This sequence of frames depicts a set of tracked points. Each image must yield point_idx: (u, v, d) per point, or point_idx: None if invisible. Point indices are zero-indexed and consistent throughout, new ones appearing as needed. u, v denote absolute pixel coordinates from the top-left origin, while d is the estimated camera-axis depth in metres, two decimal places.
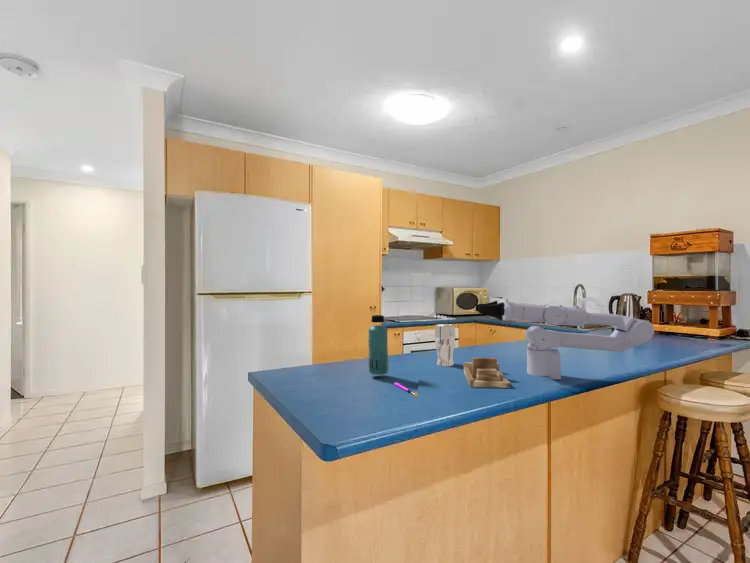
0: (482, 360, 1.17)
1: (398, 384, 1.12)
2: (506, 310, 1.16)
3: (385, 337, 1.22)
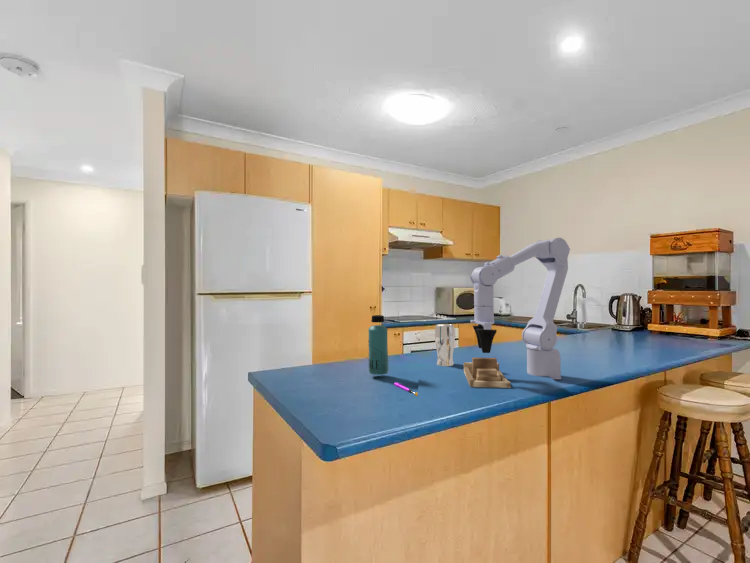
0: (482, 360, 1.17)
1: (398, 384, 1.12)
2: (485, 328, 1.10)
3: (385, 337, 1.22)
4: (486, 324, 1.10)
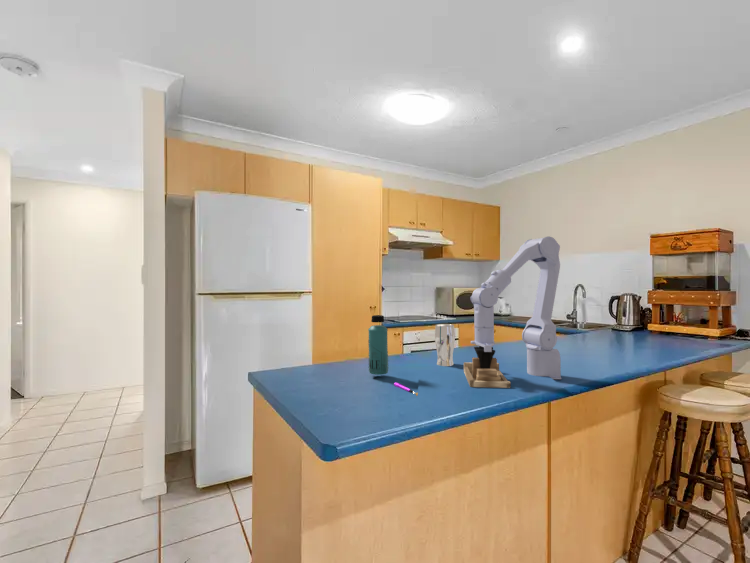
0: None
1: (398, 384, 1.12)
2: (485, 350, 1.10)
3: (385, 337, 1.22)
4: (486, 346, 1.10)
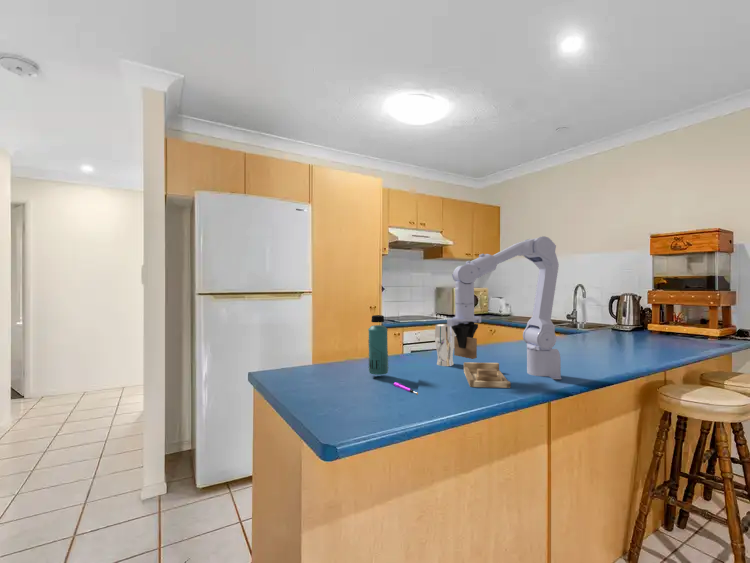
0: None
1: (398, 384, 1.12)
2: (448, 324, 1.15)
3: (385, 337, 1.22)
4: (448, 320, 1.15)
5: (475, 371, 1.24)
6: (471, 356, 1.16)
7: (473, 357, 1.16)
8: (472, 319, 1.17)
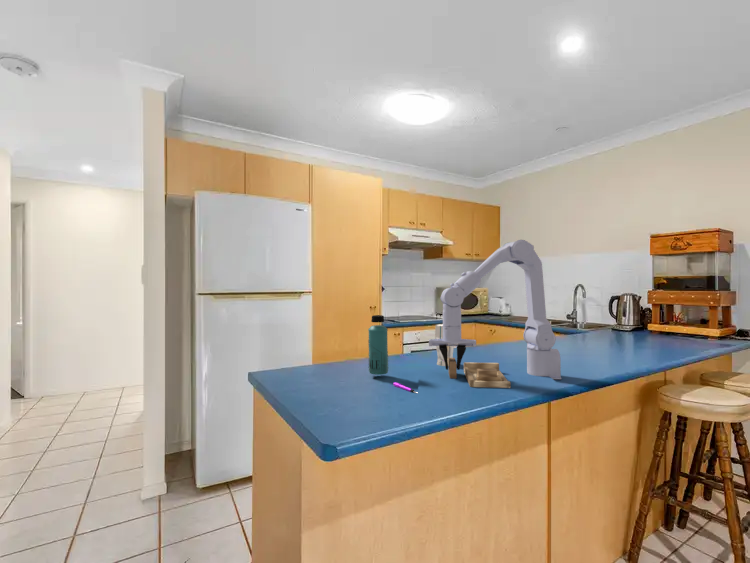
0: (448, 360, 1.22)
1: (398, 384, 1.12)
2: None
3: (385, 337, 1.22)
4: None
5: (475, 371, 1.24)
6: None
7: None
8: (452, 342, 1.18)
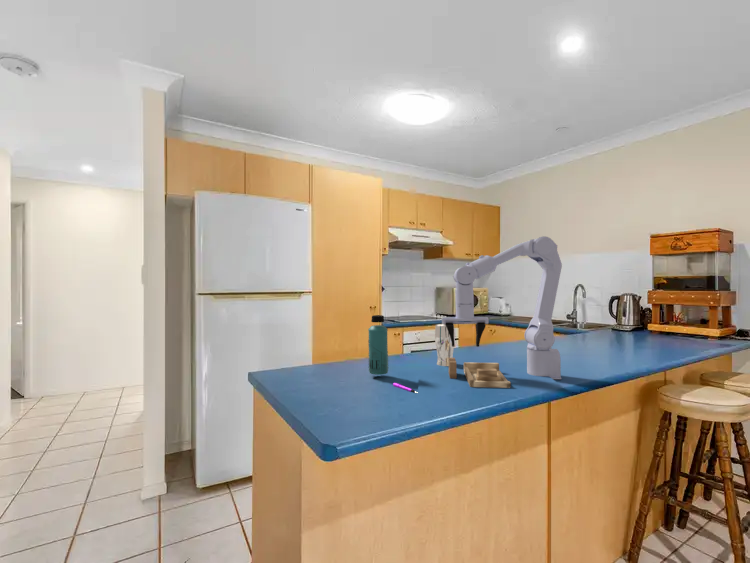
0: (448, 360, 1.22)
1: (398, 384, 1.12)
2: None
3: (385, 337, 1.22)
4: None
5: (475, 371, 1.24)
6: None
7: None
8: (465, 319, 1.20)
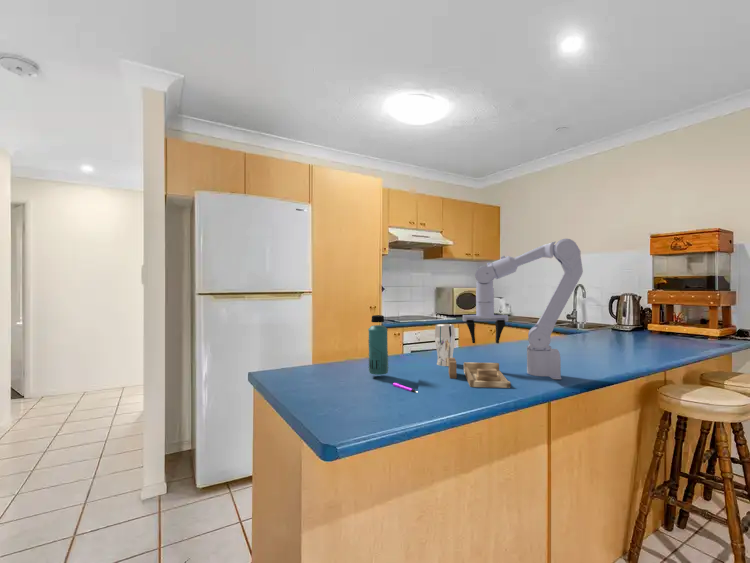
0: (448, 360, 1.22)
1: (398, 384, 1.12)
2: None
3: (385, 337, 1.22)
4: None
5: (475, 371, 1.24)
6: None
7: None
8: (486, 317, 1.25)
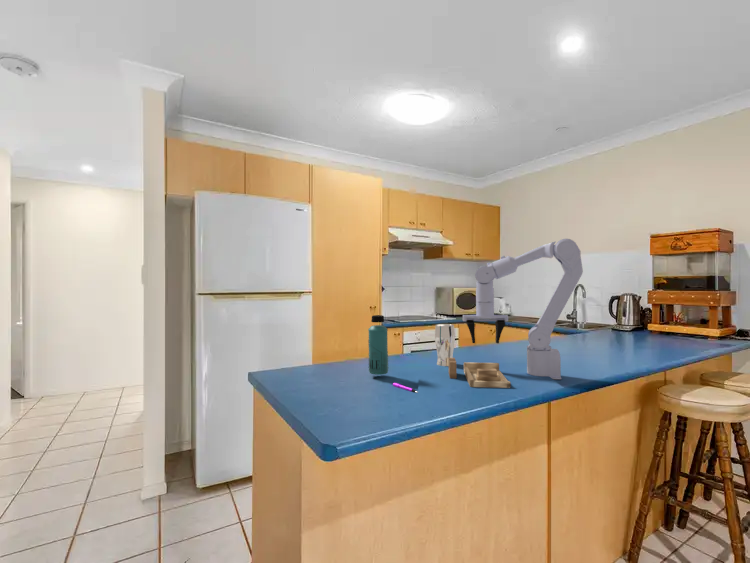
0: (448, 360, 1.22)
1: (398, 384, 1.12)
2: None
3: (385, 337, 1.22)
4: None
5: (475, 371, 1.24)
6: None
7: None
8: (486, 317, 1.25)
